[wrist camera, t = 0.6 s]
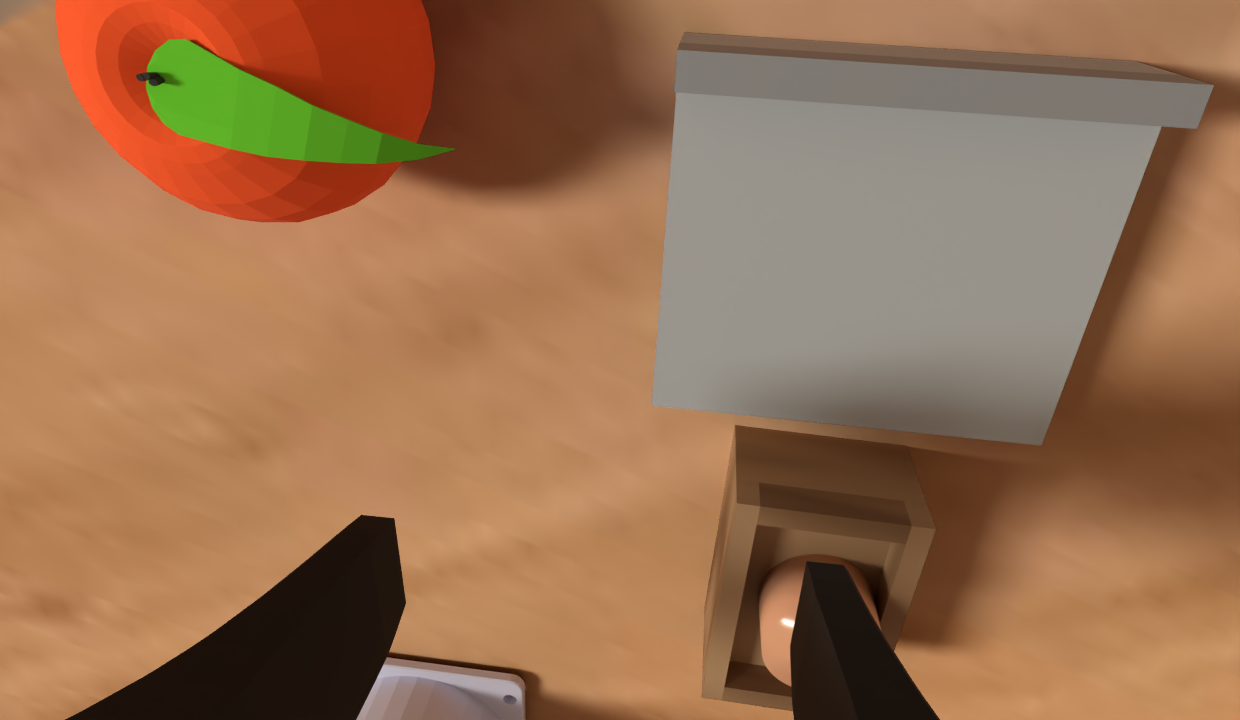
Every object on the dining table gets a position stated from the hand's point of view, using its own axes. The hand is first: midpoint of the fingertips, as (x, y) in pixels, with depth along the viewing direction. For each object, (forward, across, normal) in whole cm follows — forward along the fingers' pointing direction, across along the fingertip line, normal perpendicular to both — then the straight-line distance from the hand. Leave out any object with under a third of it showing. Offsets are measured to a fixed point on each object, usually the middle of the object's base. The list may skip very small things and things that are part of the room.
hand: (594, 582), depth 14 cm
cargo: (+7, -6, +7) cm, 11 cm away
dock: (+10, -6, -3) cm, 12 cm away
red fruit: (+10, +7, -7) cm, 14 cm away
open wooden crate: (+10, -5, +6) cm, 13 cm away
